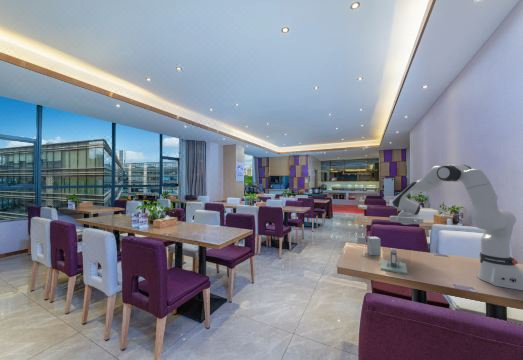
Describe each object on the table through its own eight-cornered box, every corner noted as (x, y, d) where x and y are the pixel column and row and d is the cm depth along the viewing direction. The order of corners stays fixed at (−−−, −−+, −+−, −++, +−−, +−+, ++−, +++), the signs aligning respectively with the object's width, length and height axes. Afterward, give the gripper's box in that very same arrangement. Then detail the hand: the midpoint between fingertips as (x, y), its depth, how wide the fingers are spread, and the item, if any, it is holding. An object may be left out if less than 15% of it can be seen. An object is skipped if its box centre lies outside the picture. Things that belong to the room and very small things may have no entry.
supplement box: (376, 252, 173) (376, 236, 174) (381, 255, 166) (380, 238, 166) (367, 252, 174) (366, 236, 174) (370, 255, 167) (370, 238, 167)
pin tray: (381, 261, 154) (381, 256, 154) (405, 264, 147) (405, 259, 147) (380, 269, 139) (380, 264, 139) (407, 274, 132) (407, 268, 132)
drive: (390, 263, 147) (390, 249, 147) (396, 264, 145) (396, 250, 145) (390, 266, 141) (390, 252, 141) (396, 267, 140) (396, 253, 140)
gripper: (389, 213, 170) (389, 215, 158) (421, 215, 160) (424, 217, 148) (389, 221, 170) (389, 224, 158) (421, 223, 160) (424, 227, 148)
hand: (406, 221), depth 153 cm, fingers open, 8 cm apart
